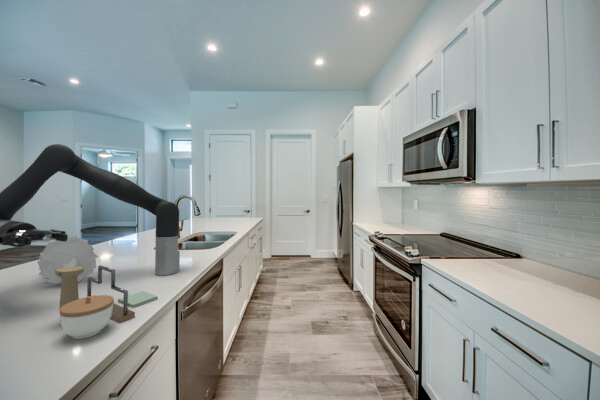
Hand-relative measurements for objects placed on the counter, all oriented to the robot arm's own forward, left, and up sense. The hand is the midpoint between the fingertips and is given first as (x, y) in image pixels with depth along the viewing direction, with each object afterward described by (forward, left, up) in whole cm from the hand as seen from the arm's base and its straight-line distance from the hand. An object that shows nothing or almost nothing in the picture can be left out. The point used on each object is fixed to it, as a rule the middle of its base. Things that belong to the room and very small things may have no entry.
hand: (48, 239), depth 72 cm
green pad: (-19, +12, -22) cm, 32 cm away
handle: (-1, +10, -23) cm, 25 cm away
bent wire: (-10, +11, -22) cm, 27 cm away
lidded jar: (-1, +21, -23) cm, 31 cm away
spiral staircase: (-16, -35, -23) cm, 45 cm away
